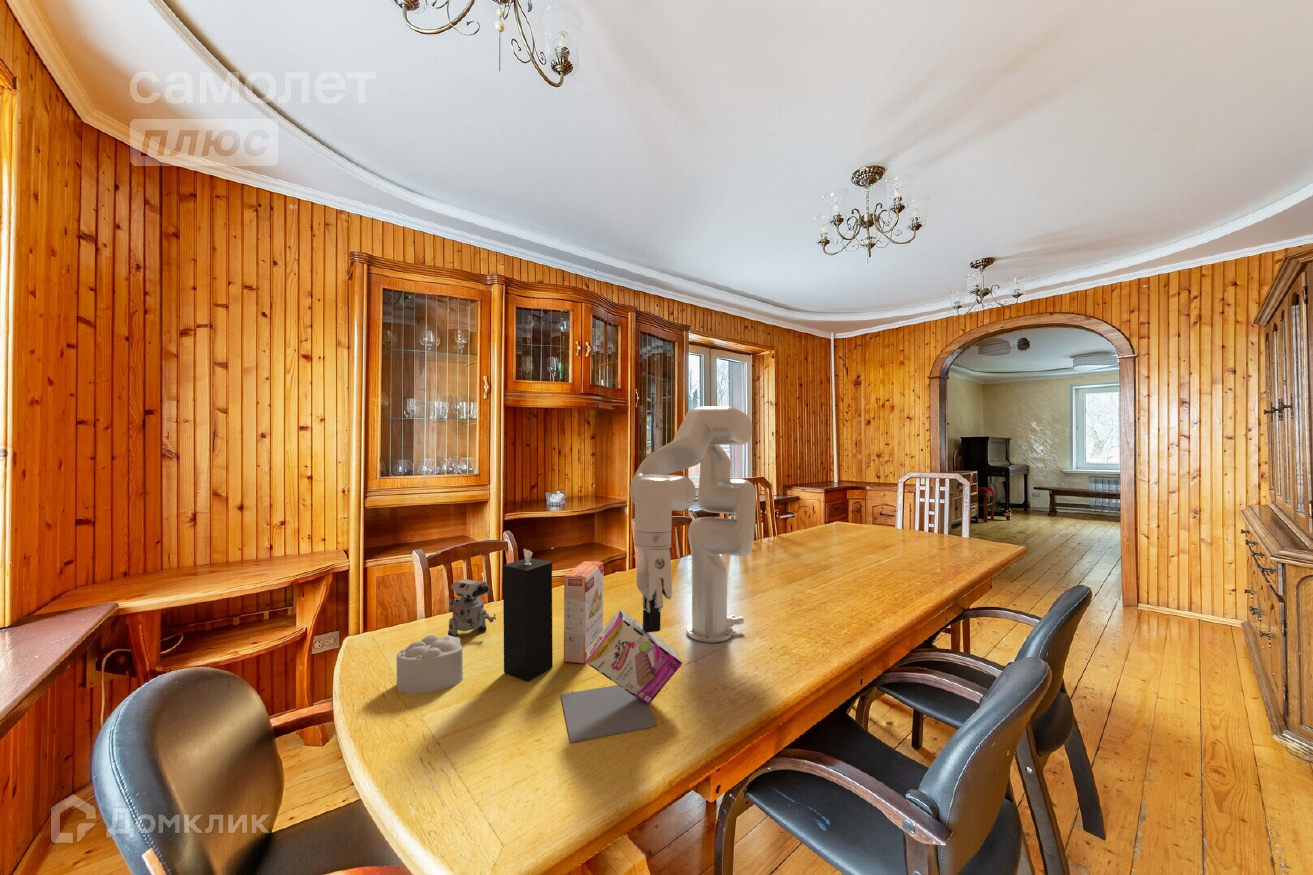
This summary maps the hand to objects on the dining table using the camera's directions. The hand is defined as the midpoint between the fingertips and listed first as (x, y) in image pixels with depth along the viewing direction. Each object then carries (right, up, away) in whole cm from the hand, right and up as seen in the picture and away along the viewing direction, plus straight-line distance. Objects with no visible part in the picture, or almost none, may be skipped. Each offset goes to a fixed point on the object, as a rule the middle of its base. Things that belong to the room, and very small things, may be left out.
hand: (651, 630), depth 96 cm
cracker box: (-17, -15, +24) cm, 33 cm away
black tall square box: (-29, -15, +14) cm, 35 cm away
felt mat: (-9, -15, -2) cm, 18 cm away
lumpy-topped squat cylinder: (-49, -15, +10) cm, 53 cm away
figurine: (-49, -15, +33) cm, 61 cm away
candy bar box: (+3, -11, +2) cm, 11 cm away
